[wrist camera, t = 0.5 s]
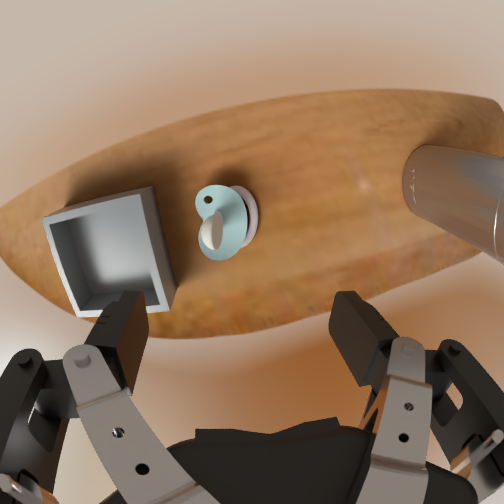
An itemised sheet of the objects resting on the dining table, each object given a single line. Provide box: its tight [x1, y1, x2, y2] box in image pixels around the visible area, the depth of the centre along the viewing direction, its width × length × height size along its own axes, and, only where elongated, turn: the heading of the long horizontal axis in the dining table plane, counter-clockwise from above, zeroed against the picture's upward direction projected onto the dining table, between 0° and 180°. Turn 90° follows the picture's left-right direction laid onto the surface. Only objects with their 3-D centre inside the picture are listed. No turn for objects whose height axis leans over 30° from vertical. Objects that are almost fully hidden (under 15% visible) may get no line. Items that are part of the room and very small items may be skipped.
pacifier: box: [195, 185, 258, 261], centre depth 24 cm, size 7×6×6 cm
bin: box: [42, 186, 177, 317], centre depth 25 cm, size 12×12×4 cm
